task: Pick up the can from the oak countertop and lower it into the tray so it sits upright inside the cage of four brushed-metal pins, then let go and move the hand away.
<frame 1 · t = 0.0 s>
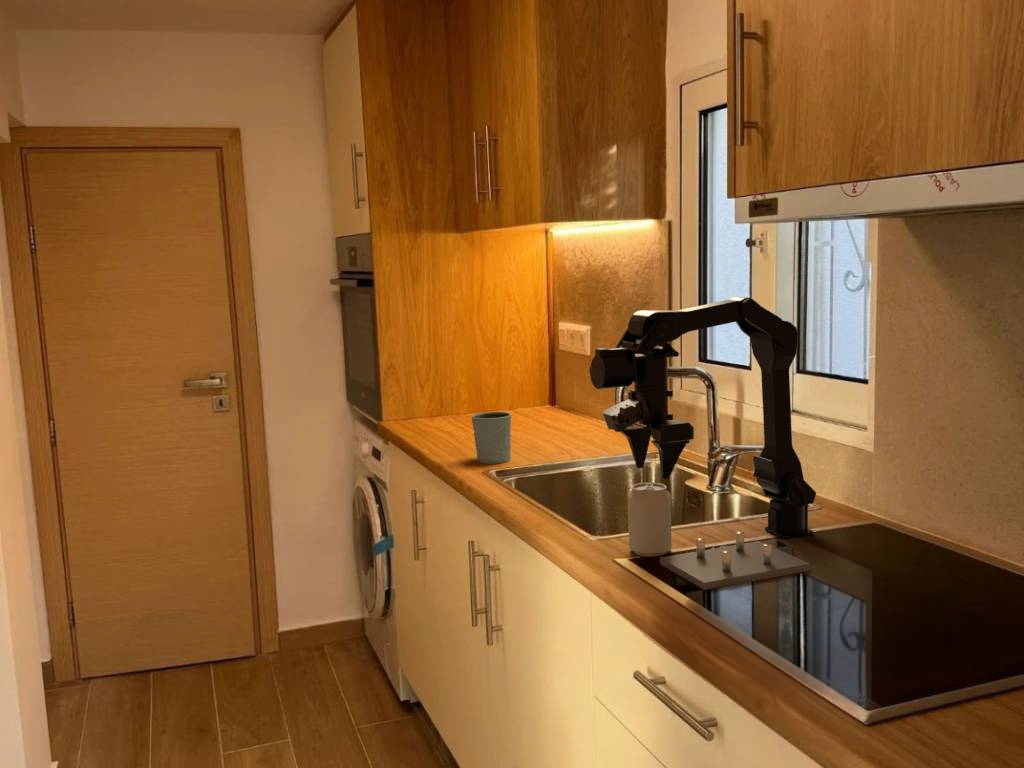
hand: (652, 473, 169), 15 cm above the worktop, fingers open, 9 cm apart
grey-blue cup: (493, 461, 253), on the worktop
can: (650, 552, 173), on the worktop
pin tray: (733, 567, 163), on the worktop
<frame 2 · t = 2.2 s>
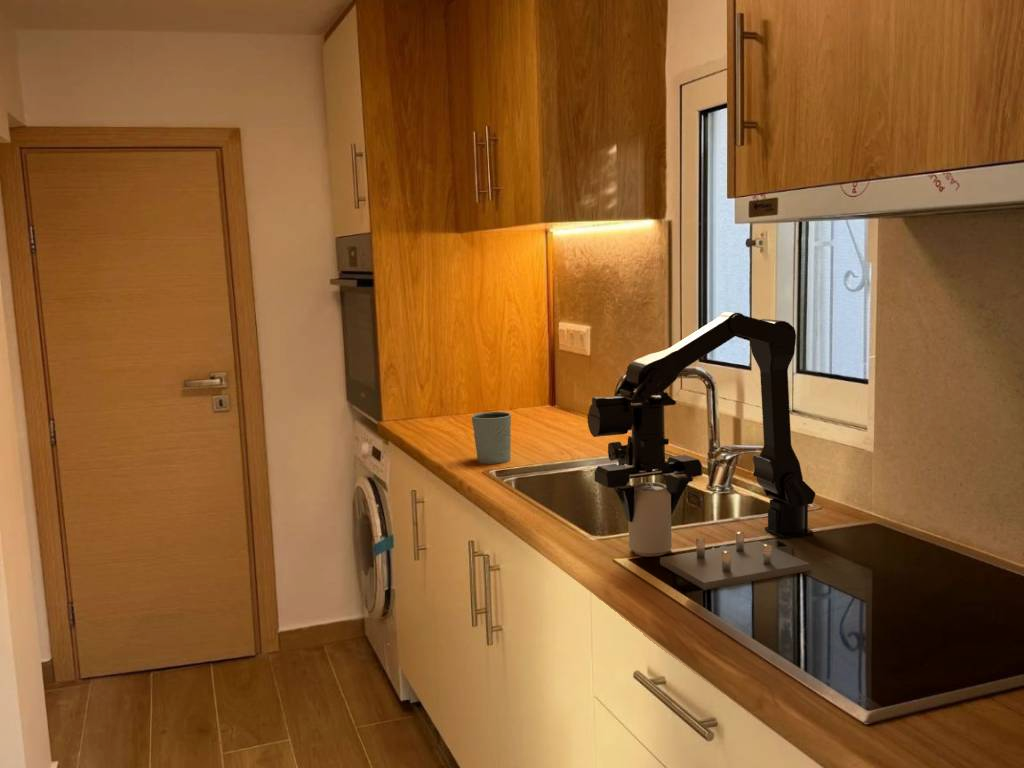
hand: (649, 518, 173), 6 cm above the worktop, fingers closed on can, 7 cm apart
can: (650, 552, 173), on the worktop, touching gripper
everything else where it was.
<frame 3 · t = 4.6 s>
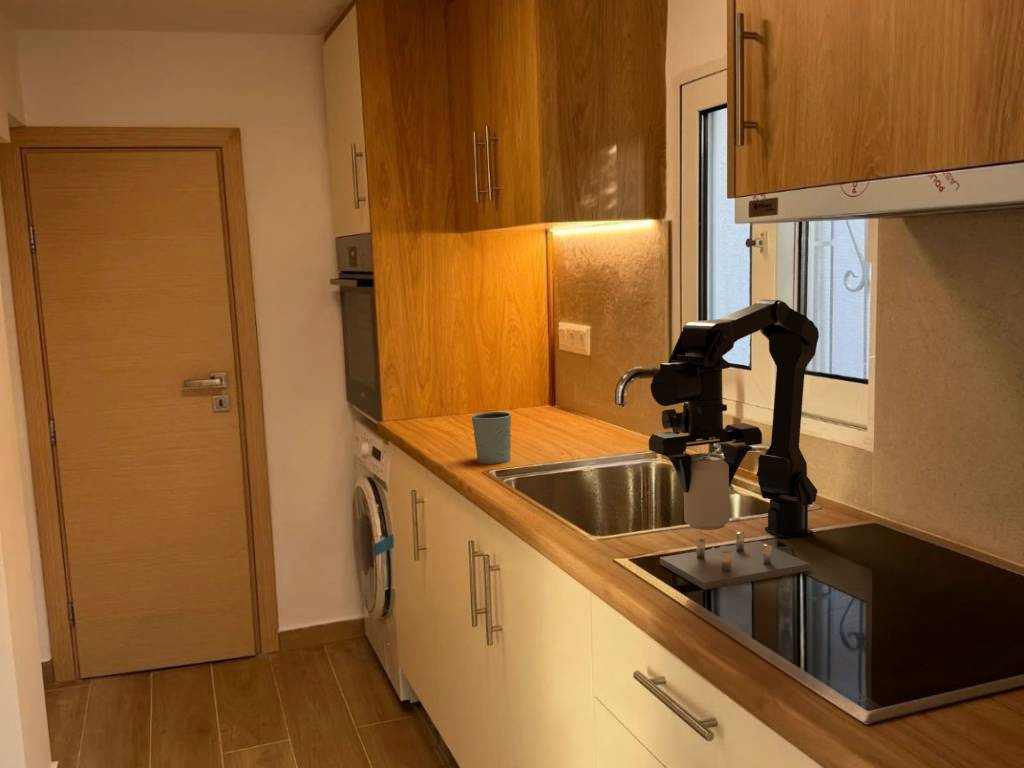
hand: (706, 489, 165), 13 cm above the worktop, fingers closed on can, 7 cm apart
can: (706, 526, 166), point 6 cm above the worktop, touching gripper
everything else where it was.
when the fingers open (9 cm above the worktop, at t = 7.0 s): can stays where it is, resting on pin tray.
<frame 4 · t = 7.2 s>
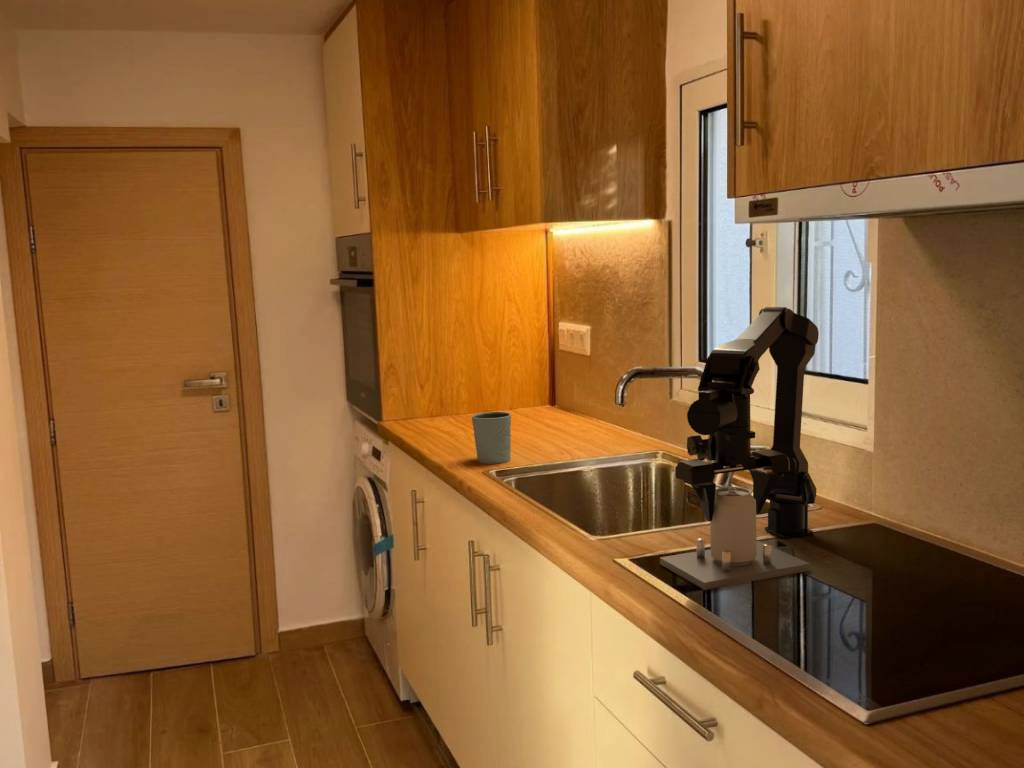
hand: (733, 517, 162), 9 cm above the worktop, fingers open, 9 cm apart
can: (733, 561, 163), point 1 cm above the worktop, touching pin tray
everything else where it was.
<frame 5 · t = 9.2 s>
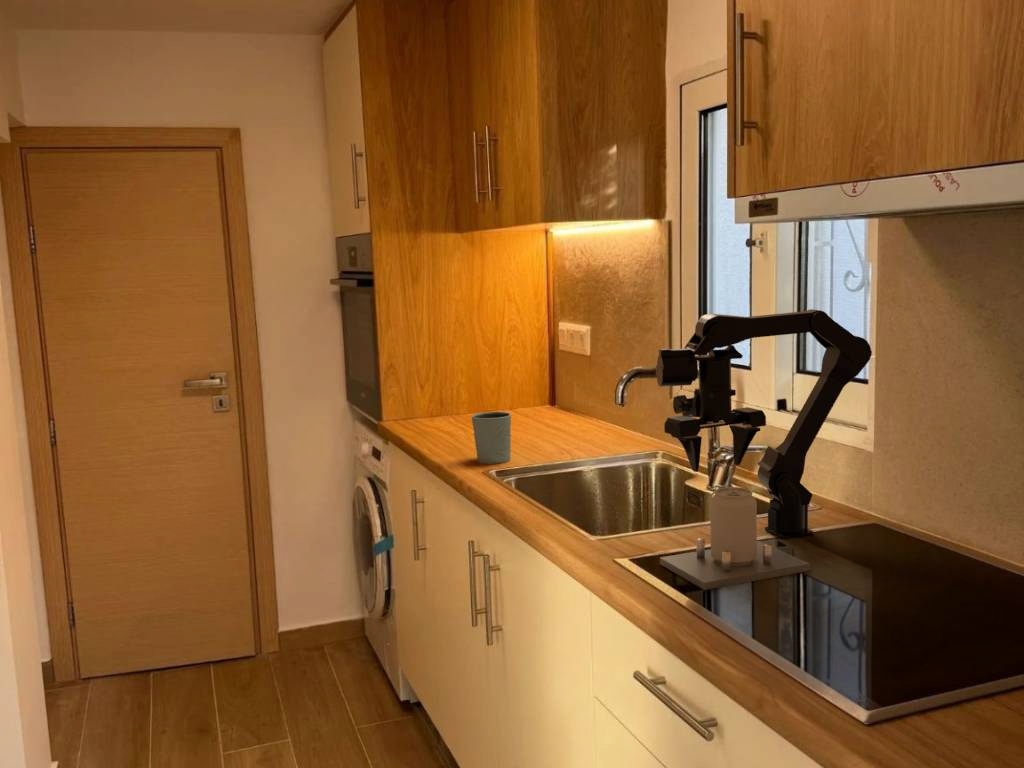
hand: (716, 468, 179), 13 cm above the worktop, fingers open, 9 cm apart
nothing on the worktop moved.
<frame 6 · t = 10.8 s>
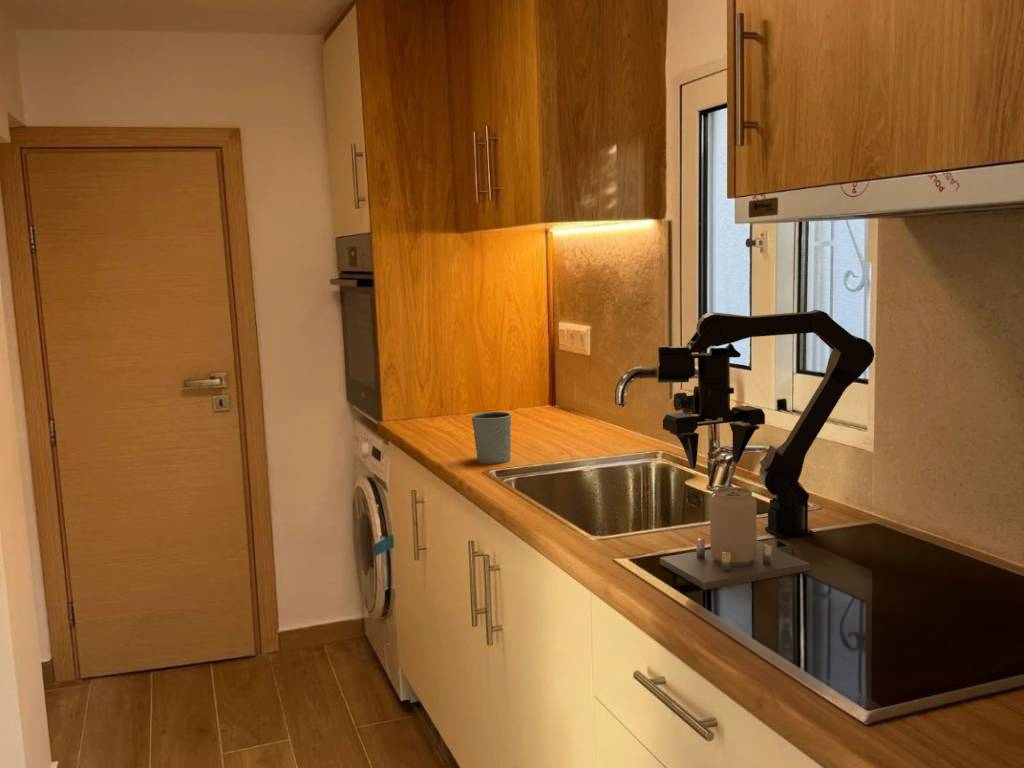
hand: (714, 465, 181), 13 cm above the worktop, fingers open, 9 cm apart
nothing on the worktop moved.
at the end: can 0.1 cm off-centre on the pin tray, point 1.0 cm above the pin tray's base; can tilted 0°; the gripper is holding nothing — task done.
